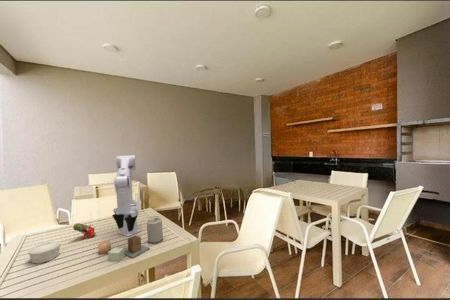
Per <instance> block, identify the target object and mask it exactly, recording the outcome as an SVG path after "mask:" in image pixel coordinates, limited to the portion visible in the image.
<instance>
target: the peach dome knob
mask: <svg viewBox="0 0 450 300" xmlns="http://www.w3.org/2000/svg"><path fill="white" fill-rule="evenodd" d="M97 247H98V254H99V255H102V256H103V255H106V254H107V255H108V252H109V251H111V250H112V246H111V241H110V240H105V241H102V242H99V243H98V245H97Z"/></svg>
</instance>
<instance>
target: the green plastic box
mask: <svg viewBox="0 0 450 300" xmlns="http://www.w3.org/2000/svg"><path fill="white" fill-rule="evenodd" d="M124 250H125V248H124V247H113V248H111V251H109V252H108V253H107V255H108V262H116V263H117V262H118V263H119V262H120V261H122V260H123V259H124V258H125V257H126V255H125V252H124Z"/></svg>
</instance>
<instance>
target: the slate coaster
mask: <svg viewBox="0 0 450 300" xmlns="http://www.w3.org/2000/svg"><path fill="white" fill-rule="evenodd" d="M150 249H151V248H150V247H148V246H146V245H142V244H141V250H139V251H137V252H135V253H131V252H129V251H128V248H126V249H124V252H125V257H128V258H131V259H136V258H137V257H138V256H140V255H142V254H143V253H146V252H147V251H149V250H150Z"/></svg>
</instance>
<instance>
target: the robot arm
mask: <svg viewBox="0 0 450 300" xmlns="http://www.w3.org/2000/svg"><path fill="white" fill-rule="evenodd" d="M136 160H137V159H136V155H135V154H133V155H117V156H116V157H115V164H116V166H117V167H116V168H117V169H118V170H117V171H116V172H117V173H116V177H114V180H113V185H114V189H115V194H116V206H117V207H116V208H113V210H112V211H113V214H112V216H111V217H112V218H113V219H114V221H115V223H116V226H117V228H118V230H119V232H118V234H120V235H123V236H126V237H132V236H134V235H135V234H137V233H140V232H141V229H138V221H137V220H138V217H139V214H140V213H139V203H138V201H137V200H136V199H133V198H134V197H133V181H132V180H133V177H132V175H133V171H135V170H136V167H137V166H136V165H137V161H136Z"/></svg>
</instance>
